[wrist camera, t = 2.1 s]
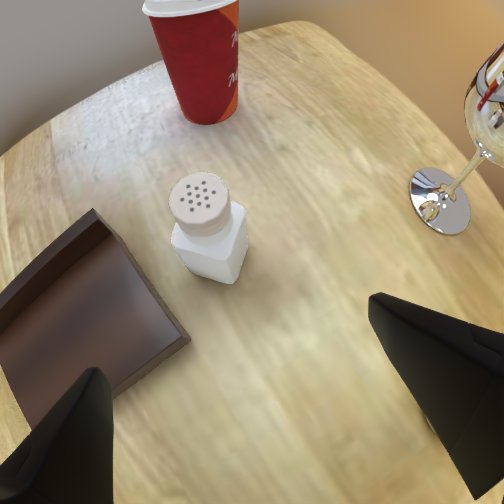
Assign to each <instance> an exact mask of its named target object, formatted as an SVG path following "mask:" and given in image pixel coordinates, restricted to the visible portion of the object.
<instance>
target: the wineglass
mask: <svg viewBox="0 0 504 504" xmlns="http://www.w3.org/2000/svg"><path fill="white" fill-rule="evenodd" d="M464 112H465V122H466V125H467V128H468V131H469V133H470V135H471V138H472V141H473V142H474V144H475V146H476V147H477V151H476V153H475V155H474V157H473V158H472V160H471V161H470V162H469V163H468V165H467V166H466V167H465V168H464V170H463V171H462V172H461V173H460V174H459V175H458V177H457V178H456V179H454V178H453V177H451V176H450V175H449V174H447V173H445V172H444V171H442V170H439V169H436V168H423V169H420V170H419V171H417V172H416V173H415V174H414V175H413V177H412V178H411V181H410V186H409V192H410V197H411V201H412V203H413V206H414V208H415V210H416V212H417V213H418V214H419V216H420V217H421V219H422V220H423V221H424V222H425V223H426V224H427V225H429V226H430V227H431V228H433V229H434V230H436V231H438V232H440V233H443V234H448V235H454V234H458V233H460V232H462V231H463V230H464V229H465V228H466V227H467V225H468V223H469V220H470V214H471V212H470V204H469V201H468V198H467V196H466V194H465V192H464V190H463V188H462V187H461V186H460V184H461V183H462V182H463V181H464V180H465V179H466V178H467V177H468V176H469V174H470V173H471V172H472V171H473V170H474V169H475V168H476V167H477V166H478V165H479V164H480V163H481V162H483V161H484V160H485V159H488V160H489V161H491V162H492V163H494V164H496V165H498V166H501V167H503V168H504V42H503V43H502V44H501V45H500V46H499V47H498V48H497V49H496V50H495V52H494V53H493V54H492V55H491V56H490V57H489V58H488V59H487V60H486V61H485V63H484V64H483V65H482V66H481V68H480V69H479V71H478V72H477V73H476V75H475V76H474V78H473V80H472V81H471V83H470V85H469V87H468V90H467V92H466V96H465V102H464Z"/></svg>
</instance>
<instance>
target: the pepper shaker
mask: <svg viewBox="0 0 504 504" xmlns="http://www.w3.org/2000/svg"><path fill="white" fill-rule="evenodd" d="M169 206H170V208H171V210H172V213H173V215H174V217H175V219H176V224H175V226H174V229H173V232H172V235H171V244H172V247H173V248H174V249H175V251H176V252H177V254H178V255H179V257H180V258H181V260H182V261H183V262H184V264H185V265H186V267H187V268H188V270H189V271H191V272H192V273H193V274H196V275H199V276H202V277H206V278H209V279H212V280H215V281H219V282H222V283H225V284H234V282H235V281H236V280H237V279H238V276H239V273H240V270H241V267H242V264H243V261H244V258H245V255H246V252H247V249H248V246H249V245H248V233H247V222H246V211H245V208H244V207H243V206H241V205H240V204H239V203H236V202H234V201H231V200H230V196H229V190H228V188H227V187H226V185H225V183H224V181H223V180H222V178H220V177H218V176H216V175H214V174H212V173H210V172H194V173H191V174H189V175H187V176H185V177H183V178H181V179H180V180H179V181H178V182H177V183H176V185H175V186H174V187H173V188H172V189H171V193H170V198H169Z"/></svg>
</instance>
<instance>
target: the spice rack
mask: <svg viewBox="0 0 504 504" xmlns="http://www.w3.org/2000/svg"><path fill="white" fill-rule="evenodd" d="M189 341H191V338H190V336H189V335H188V334H187V333H186V331H185V330H184V329H183V327H182V326H181V325H180V323H179V322H178V321H177V319H176V318H175V316H174V315H173V314H172V312H171V311H170V310H169V308H168V307H167V305H166V304H165V303H164V301H163V300H162V298H161V297H160V296H159V294H158V293H157V291H156V290H155V289H154V287H153V286H152V284H151V283H150V281H149V280H148V278H147V277H146V275H145V274H144V272H143V271H142V270H141V268H140V267H139V265H138V264H137V262H136V260H135V259H134V257H133V256H132V254H131V253H130V251H129V250H128V248H127V247H126V245H125V243H124V242H123V240H122V239H121V237H120V236H119V235H118V234H117V233H116V232H115V231H114V230H113V229H112V228H111V227H110V226H109V225H108V224H107V223H106V221H105V220H104V219H103V218H102V217H101V216H100V215H99V214H98V213H97V212H96V211H95V210H94V209H93V208H92V209H91V210H90V211H88V212H87V213H86V214H85V215H83V216H82V217H81V218H80V219H79V220H77V221H76V222H75V223H74V224H73V225H72V226H70V227H69V228H68V229H67V230H66V231H65V232H63V233H62V234H61V235H60V236H59V237H58V238H57V239H56V240H54V241H53V242H52V243H51V244H50V245H49V246H48V247H47V248H46V249H45V250H43V251H42V252H41V253H40V254H39V255H38V256H37V257H36V258H35V259H34V260H33V261H32V262H31V263H30V264H29V265H28V266H27V267H26V268H25V269H24V270H23V271H22V272H21V273H20V274H19V275H18V276H17V277H16V278H15V279H14V280H13V281H12V282H11V283H10V284H9V285H8V286H7V287H6V288H5V289H4V290H3V291H2V292H1V293H0V364H1V367H2V369H3V372H4V374H5V377H6V379H7V381H8V383H9V386H10V388H11V390H12V392H13V394H14V396H15V399H16V401H17V403H18V405H19V407H20V409H21V411H22V413H23V414H24V416H25V418H26V420H27V422H28V424H29V426H30V427H31V429H32V430H33V429H34V428H35V426H36V425H37V424H38V423H39V422H40V421H41V419H42V418H43V417H44V416H45V415H46V414H47V412H48V411H49V410H50V409H51V408H52V407H53V406H54V404H55V403H56V402H57V401H58V400H59V399H60V398H61V397H62V395H63V394H64V393H65V392H66V391H67V390H68V389H69V388H70V386H71V385H72V384H73V383H74V382H75V381H76V380H77V379H78V378H79V376H80V375H81V374H82V373H83V372H84V371H85V370H86V369H87V368H90V367H99V368H100V369H101V370H102V372H103V373H104V375H105V376H106V378H107V379H108V381H109V382H110V384H111V387H112V400H113V399H114V398H116V397H117V396H118V395H120V394H121V393H122V392H124V391H125V390H126V389H128V388H129V387H130V386H132V385H133V384H134V383H136V382H137V381H138V380H140V379H141V378H142V377H144V376H145V375H146V374H148V373H149V372H150V371H152V370H153V369H154V368H156V367H157V366H158V365H160V364H161V363H162V362H163V361H165V360H166V359H167V358H169V357H170V356H171V355H173V354H174V353H175V352H177V351H178V350H179V349H180V348H182V347H183V346H184V345H186V344H187V343H188V342H189Z"/></svg>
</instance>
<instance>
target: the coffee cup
mask: <svg viewBox="0 0 504 504" xmlns="http://www.w3.org/2000/svg"><path fill="white" fill-rule="evenodd" d="M142 10H143V12H144V13H145V14H146V15H149V18H150V21H151V24H152V27H153V30H154V33H155V36H156V39H157V42H158V45H159V48H160V50H161V53H162V56H163V59H164V62H165V65H166V68H167V71H168V74H169V76H170V79H171V82H172V85H173V88H174V90H175V93H176V96H177V99H178V101H179V104H180V106H181V109H182V111H183V114H184V115H185V117H186V118H187V119H188V120H189V121H191V122H193V123H196V124H202V125H208V124H215V123H218V122H221V121H223V120H225V119H227V118H228V117H230V116H231V115H232V114H233V113H234V111H235V110H236V107H237V97H238V14H239V13H238V12H239V0H145V3H144V5H143V8H142Z"/></svg>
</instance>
